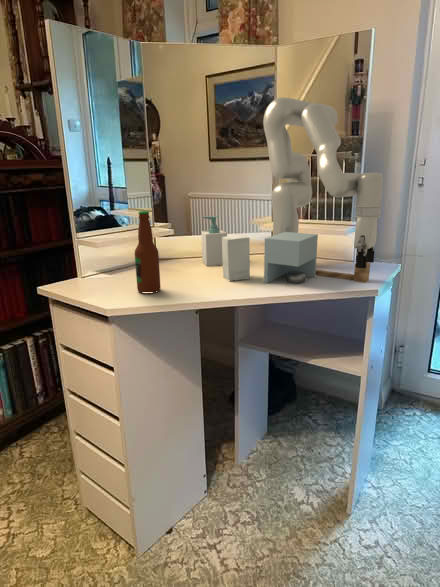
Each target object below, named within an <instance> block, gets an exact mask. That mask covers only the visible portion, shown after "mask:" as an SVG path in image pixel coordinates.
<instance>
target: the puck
mask: <svg viewBox="0 0 440 587" xmlns="http://www.w3.org/2000/svg"><path fill="white" fill-rule="evenodd" d="M286 282H287V283H289V284H293V285H300V284H301V285H302V284H305V283H306V276H305V273H304V272H300V271H291V272H288V273H287V274H286Z"/></svg>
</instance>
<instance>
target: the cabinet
mask: <svg viewBox="0 0 440 587" xmlns="http://www.w3.org/2000/svg"><path fill="white" fill-rule="evenodd" d="M318 239H319V236H318V234H316V233H304V232H298V233H293V232H284V233H280V234H277V235H274V236H273V235H271V236H269V237H265V238H264V254H265V256H264V255H263V259H264V260H263V261H264V263H263V267H264V269H263V272H264V274H263V283H264V284H268V283H271V282H272V281H274V280H276V279H278V278H280V277H282V276H284V275H287V273H288V272H291V271H300V272H304V273H305V278H306V277H308V278H313V279H314V278H316V277H317V276H316V270H317V257H318V256H317V255H318V254H317V253H318Z"/></svg>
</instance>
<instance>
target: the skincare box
mask: <svg viewBox="0 0 440 587" xmlns="http://www.w3.org/2000/svg"><path fill="white" fill-rule="evenodd" d="M250 238H251V237H249V236H247V235H244V234H237V235H230V236H229V235H227V237H222V255H223V265H222V277H223V278H224V279H225V278H226V279H227V280H226V279H225V280H226V281H228V280H235V281H240V280H241V279H242V280H249V279H250V278H251V276H250V274H251V272H250V271H251V270H250V268H251V267H250V266H251V265H250V263H251V262H250V259H251V257H250V246H251V245H250ZM242 280H241V281H242Z"/></svg>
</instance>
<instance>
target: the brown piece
mask: <svg viewBox="0 0 440 587" xmlns="http://www.w3.org/2000/svg"><path fill="white" fill-rule="evenodd" d="M353 272H354V273H346V272H345V273H344V272H338V271H337V272H335V271H328V270H320V269H316V276H315V277H317V276H318V277H324V278H331V279H332V278H333V279H341V280H349V281H353V282H355V283H364V284H366V283H367V282H368V281H369V280H370V272H371V263H370V262H367V263H366V268H356V263H354V271H353Z"/></svg>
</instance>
